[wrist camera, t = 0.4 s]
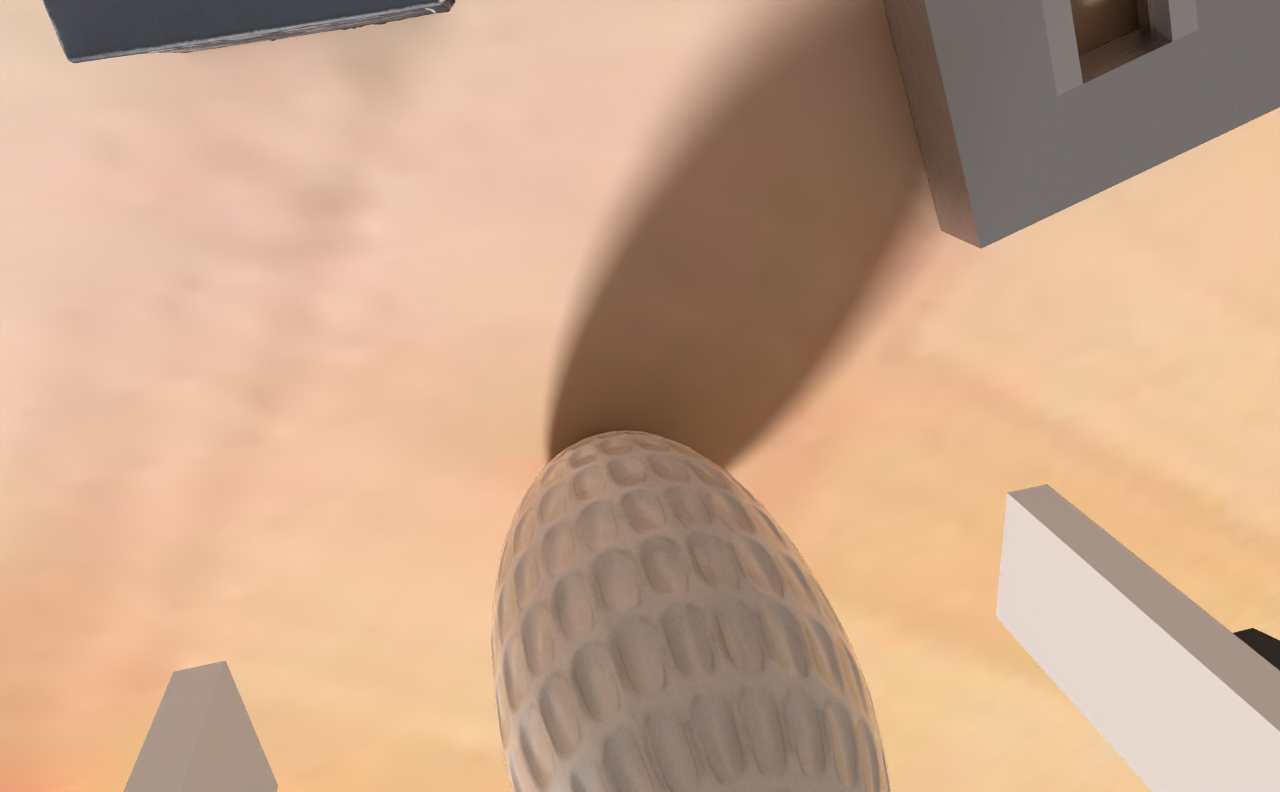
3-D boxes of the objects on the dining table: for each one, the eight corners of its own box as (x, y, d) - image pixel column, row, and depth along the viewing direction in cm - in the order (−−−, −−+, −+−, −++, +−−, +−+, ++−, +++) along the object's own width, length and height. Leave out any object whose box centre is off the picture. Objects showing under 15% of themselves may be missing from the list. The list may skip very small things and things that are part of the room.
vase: (483, 369, 40) (534, 991, 15) (744, 370, 42) (1168, 896, 17) (480, 594, 45) (515, 1346, 20) (714, 582, 47) (1008, 1230, 22)
